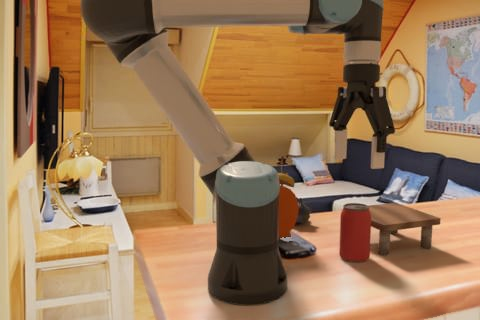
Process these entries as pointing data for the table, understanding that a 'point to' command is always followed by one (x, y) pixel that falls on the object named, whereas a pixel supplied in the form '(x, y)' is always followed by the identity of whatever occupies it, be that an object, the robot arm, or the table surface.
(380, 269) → the table surface
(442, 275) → the table surface
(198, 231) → the table surface
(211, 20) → the robot arm
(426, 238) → the peg shelf
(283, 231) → the alarm clock
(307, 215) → the frog
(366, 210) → the beer can
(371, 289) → the table surface
